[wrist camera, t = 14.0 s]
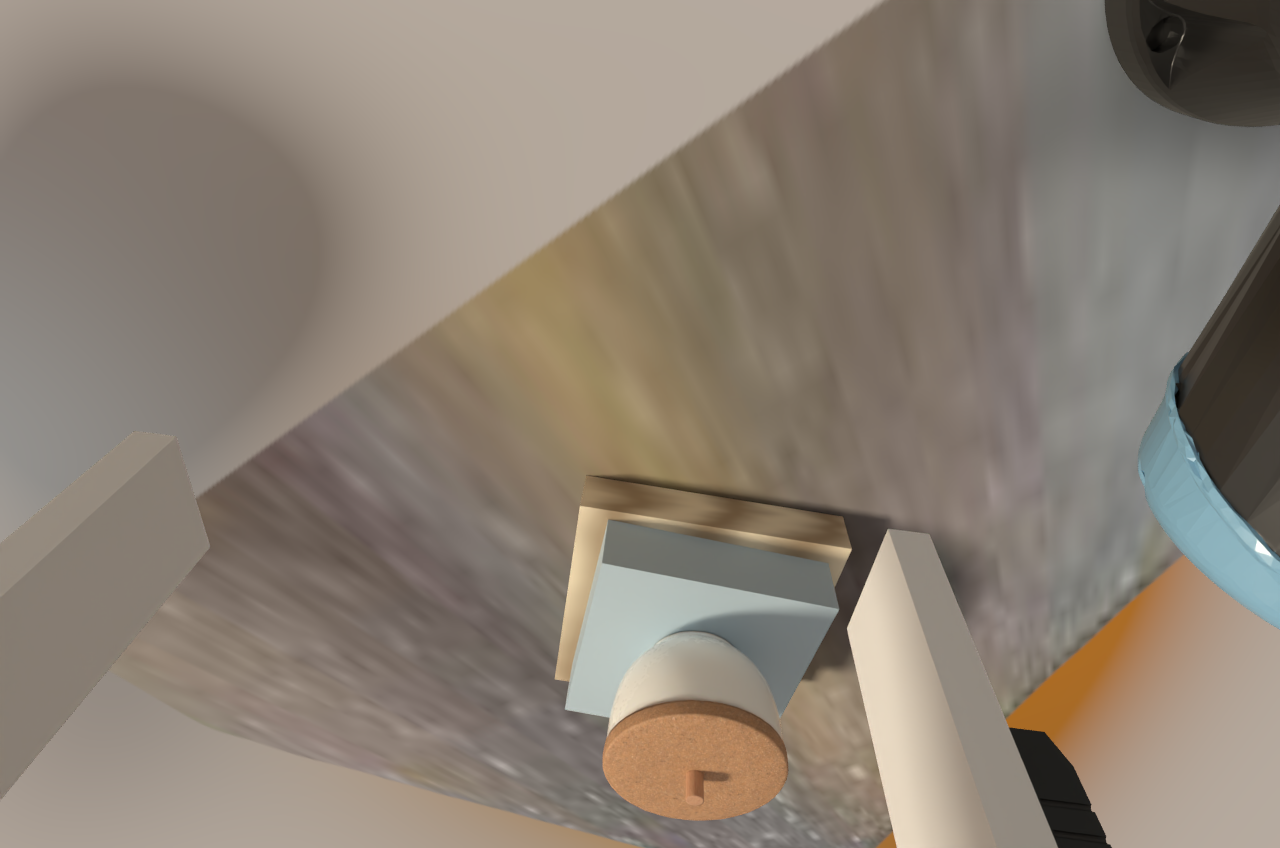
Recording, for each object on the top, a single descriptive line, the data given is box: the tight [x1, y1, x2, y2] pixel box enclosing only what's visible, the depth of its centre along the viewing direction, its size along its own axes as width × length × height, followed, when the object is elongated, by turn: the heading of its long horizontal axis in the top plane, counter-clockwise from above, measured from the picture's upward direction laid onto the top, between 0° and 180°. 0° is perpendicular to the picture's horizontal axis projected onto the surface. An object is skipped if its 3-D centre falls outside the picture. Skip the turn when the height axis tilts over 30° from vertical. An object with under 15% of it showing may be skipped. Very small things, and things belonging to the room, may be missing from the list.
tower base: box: [555, 475, 852, 681], centre depth 52 cm, size 18×18×4 cm
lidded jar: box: [603, 631, 788, 820], centre depth 43 cm, size 11×11×9 cm
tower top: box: [565, 520, 839, 718], centre depth 49 cm, size 15×15×4 cm
